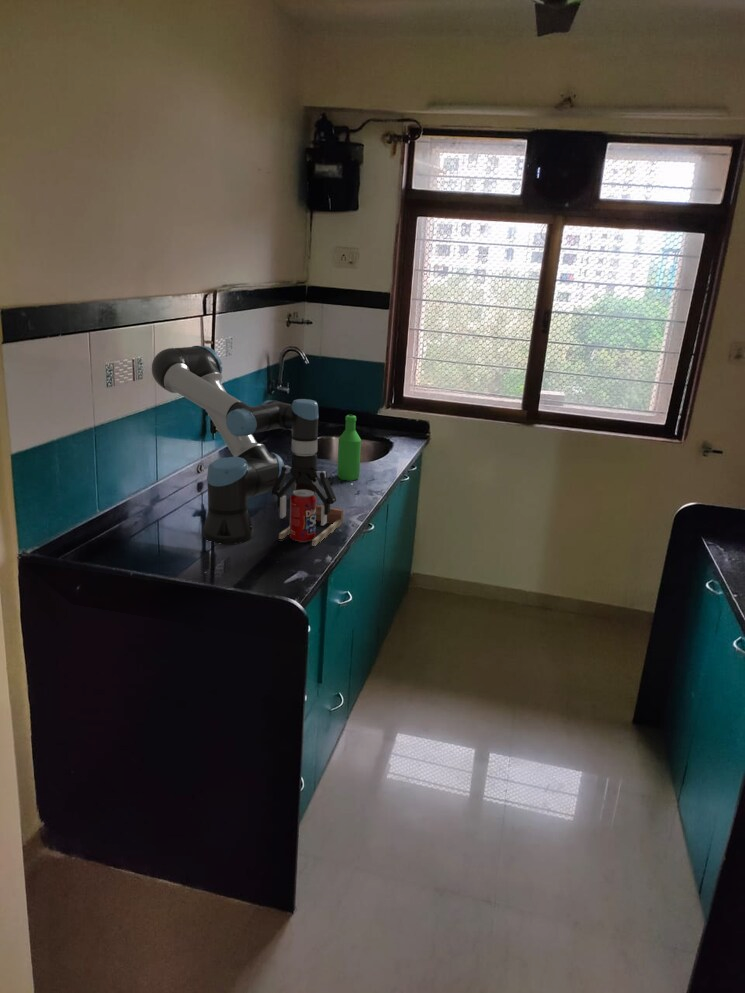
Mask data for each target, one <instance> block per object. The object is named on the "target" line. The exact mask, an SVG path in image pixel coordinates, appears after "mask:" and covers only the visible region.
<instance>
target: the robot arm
mask: <svg viewBox="0 0 745 993" xmlns="http://www.w3.org/2000/svg"><path fill="white" fill-rule="evenodd" d="M222 373H223V366H222V360H221V357H220V356H219V353H217V352H216V351H215V350H214V349H213V348H211V347H210V346H205V345H193V346H187V347H185V346H184V347H170V348H166V349H163V350H161V351H159V352H158V353H157V354H156V355H155V356H154V358H153V360H152V363H151V374H152V376H153V379H154V380H155V382H156V383H157V384H158V386H160V387H161V388H162V389H164V390H166V391H167V392H169V393H172V394H179V395H181V396H182V397H183V398H186V399H187V400H188V401H190V402H191V403H193V404H195V405H196V406H199V407H200V408H202V409H203V410H205V411H206V413H207V415H208V416H209V418H210V419H211V421H212V423H213V425H214V426H215V427H216V430H217V432H218V433H219V435H220V436H221V438H222V439H223V442H224V443H225V445H226V446H227V448H228V450H229V451H230V453H231V454H232V456H229V457H225V456H224V457H221V458H218V459H216V460H215V459H214V460H213V461H212V462H211V463H209V465H208V467H207V475H206V482H207V507H208V508H207V514H206V518H205V522H204V525H203V527H202V537H204V538H205V539H206V540H205V539H204V538H203V539H204V540H205V541H207V540H208V541H207V542H209V541H212V542H215V543H214V544H217V543H221V544H220V545H235V543H237V544H241V543H240V542H242V543H244V542H247V540H248V541H249V540H251V539H252V538H253V537H254V526H253V524H252V520H251V517H250V515H249V512H248V499H250V498H252V497H257V496H259V495H263V494H266V493H271V494H272V495H275V496H276V497H277V507H279V519H284V518H286V516H287V495H285V494H286V493H287V491H289V490H290V488H291V487H292V486H293V485H295V482H296V481H297V482H298V483H303V484H309V485H310V486H311V487H313V489H314V490H315V494H317V496H318V497H319V499H320V500H321V501H322V504H320V505H321V522H320V526H325V525H326V524H328V523H327V515H328V514H329V513H330V507H331V505H332V504H334V503H336V502H337V497H336V495H335V492H334V491H333V488H332V485H331V483H330V480H329V479H328V471H327V470H322V471H320V470H318V469H317V466H318V454H317V453H318V438H319V437H318V432H319V431H318V430H319V428H318V427H319V417H320V416H319V405H318V404H319V403H318V402H317V400H313V399H307V398H298V399H294V400H293V401H292V403H288V402H287V403H285V402H283V401H278V400H269V399H268V400H265V401H263V403H261V404H260V405H256V406H255V405H254V406H250V405H248V404H247V403H244V402H243V401H241V400H239V399H237V398H236V397H235V396H234V395H231V394H229V393H227V391H226V389H225V387H224V386H223V384H222V379H223V374H222ZM277 429H283V430H286V431H287V430H288V431H291V452H292V453H291V462H290V463H291V464H290V465H291V466H289V465H288V464H284V460H283V458H282V457H281V456H280V455H279V454H277V453H275V452H269V450H268V449H267V447H266V446H265V444H263V443H259V442H257V440H256V439H255V437H254V434H258V433H259V434H260V433H262V432H267V431H270V430H277ZM289 473H290V474H291V475H292V477H291V478H290V479H289V481H288V482H287V483H286V484H285V485H284V486H283V483H284V482H285V480H286V477H287V476H288V474H289ZM316 476H318V478H317V479H316ZM318 479H319V480H320V481H319V480H318ZM319 482H321V483H319ZM321 485H322V486H321ZM282 486H283V487H282ZM212 542H211V543H212Z"/></svg>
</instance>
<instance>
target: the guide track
mask: <svg viewBox="0 0 745 993" xmlns="http://www.w3.org/2000/svg"><path fill="white" fill-rule="evenodd" d="M321 505H322V504H320V505H319V504H316V520H317V521H316V522H320V521H321ZM343 517H344V509H343V508H337V507H331V506H330V513H329V514H328V515H327V522H329V523H328V524H330V525H329V526H328V527H327V528H325V529H324V530H322V532H320V533H319V534H318V535H316V536H315V538H314V539H313V540H311V547H312V546H316V545H317V544H318V543H319V542H320V543H322V542H323V541H324V540H325V539H326V538H328V537H329V536H330V535H331V534H333V532H335V531H336V530H337V529H339V527H340V525H341V524H342V523H343V524H344V518H343ZM331 523H333V524H331ZM343 524H342V525H343ZM342 525H341V526H342ZM336 528H337V529H336ZM335 529H336V530H335ZM334 530H335V531H334ZM330 533H331V534H330ZM289 534H290V525H289V526H288V527H286V528H285V529H283V530H282V531H281V532H279V533H278V540H279V539H283V538H285V537H286V536H287V535H289ZM329 534H330V535H329ZM328 535H329V536H328ZM289 536H290V535H289ZM287 537H288V536H287ZM287 537H286V538H287ZM286 538H285V539H286ZM324 538H325V539H324ZM323 539H324V540H323ZM283 540H284V539H283ZM322 540H323V541H322ZM321 541H322V542H321ZM320 543H319V544H320ZM319 544H318V545H319ZM318 545H317V546H318ZM317 546H316V547H317Z"/></svg>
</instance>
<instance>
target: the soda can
mask: <svg viewBox="0 0 745 993" xmlns="http://www.w3.org/2000/svg"><path fill="white" fill-rule="evenodd" d="M316 505H317V497H316V494H315V495H314V492H313V491H311V490H293V491H292V494H291V495H290V498H289V526H290V535H289V537H290V539H291V540H292V541H294V540H295V541H294V542H296V541H298V542H297V543H309V542H312V540H313V539H314V538H315V537H316V533H317V532H316V530H317V526H316V524H317V521H316ZM308 541H309V542H308Z"/></svg>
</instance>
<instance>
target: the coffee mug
mask: <svg viewBox="0 0 745 993" xmlns="http://www.w3.org/2000/svg"><path fill="white" fill-rule="evenodd" d="M316 479H317V480H318V479H319V476H316ZM294 489H295V490H311V491H313V492H314V495H315V496H316V492H315V490H314V489H313V487H311V486H310V485H309V484H303V483H298V482H297V481H296V482H295V483H294ZM295 490H294V491H295Z"/></svg>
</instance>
